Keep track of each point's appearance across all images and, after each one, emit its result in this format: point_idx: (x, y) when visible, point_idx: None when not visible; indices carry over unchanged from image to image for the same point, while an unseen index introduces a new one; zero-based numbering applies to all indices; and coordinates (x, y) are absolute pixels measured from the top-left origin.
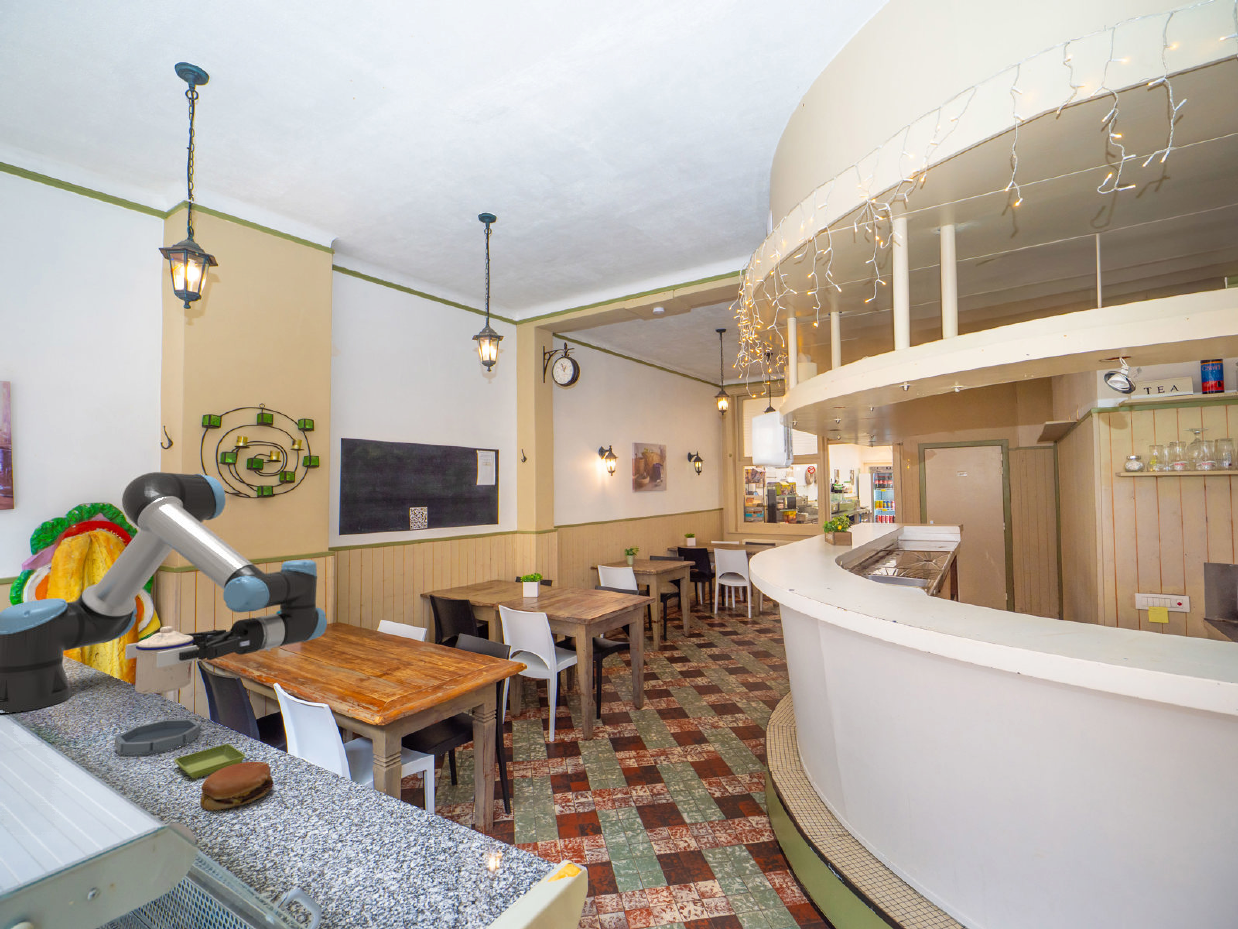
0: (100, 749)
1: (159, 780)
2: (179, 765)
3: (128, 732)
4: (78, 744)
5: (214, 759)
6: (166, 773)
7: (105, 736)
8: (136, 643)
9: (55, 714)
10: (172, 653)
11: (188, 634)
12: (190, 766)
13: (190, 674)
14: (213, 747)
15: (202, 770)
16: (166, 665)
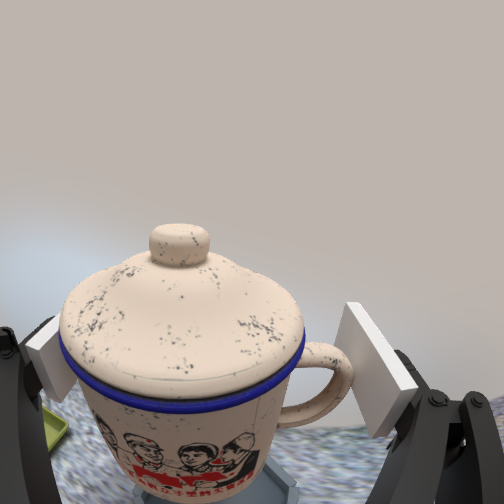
0: (284, 450)
1: (64, 403)
2: (49, 411)
3: (271, 469)
4: (344, 438)
5: None
6: (71, 419)
7: (356, 468)
8: (360, 316)
9: (501, 418)
10: None
11: (483, 490)
12: (52, 435)
13: (118, 461)
14: None
15: None
16: None
